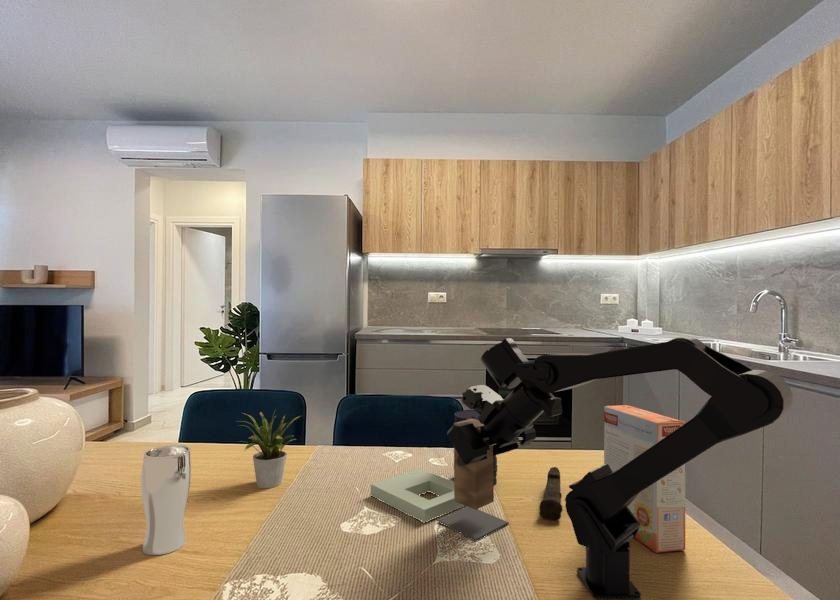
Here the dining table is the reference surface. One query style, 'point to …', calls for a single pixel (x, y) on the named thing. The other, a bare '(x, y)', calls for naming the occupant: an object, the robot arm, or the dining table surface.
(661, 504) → the cracker box
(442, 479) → the square socket block
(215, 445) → the dining table surface
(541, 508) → the hand tool
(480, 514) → the rubber mat
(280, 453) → the house plant
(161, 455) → the beer glass
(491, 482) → the wooden block
